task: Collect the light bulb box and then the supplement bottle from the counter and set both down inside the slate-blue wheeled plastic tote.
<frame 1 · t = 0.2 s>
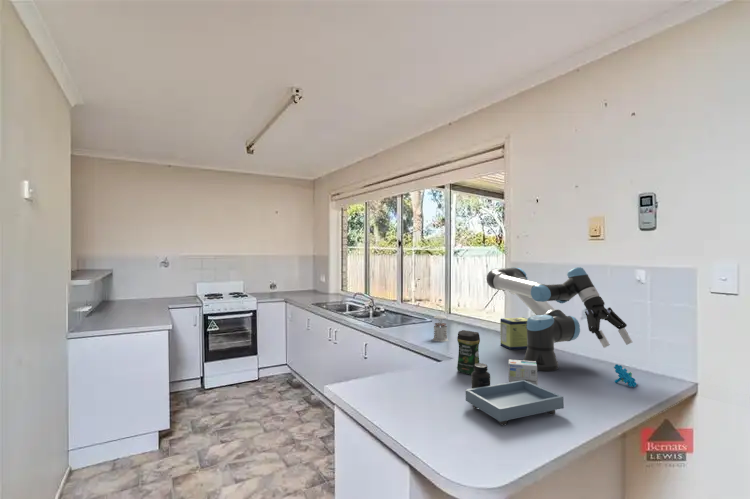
hand: (618, 345, 160), 15 cm above the counter, tool tilted 35°, fingers open, 13 cm apart
gear: (625, 385, 157), on the counter
supplement bottle: (480, 397, 145), on the counter
coffee jar: (468, 372, 174), on the counter
french press: (440, 339, 238), on the counter
light bulb box: (522, 389, 153), on the counter
protein box: (517, 347, 218), on the counter
tote: (513, 411, 132), on the counter
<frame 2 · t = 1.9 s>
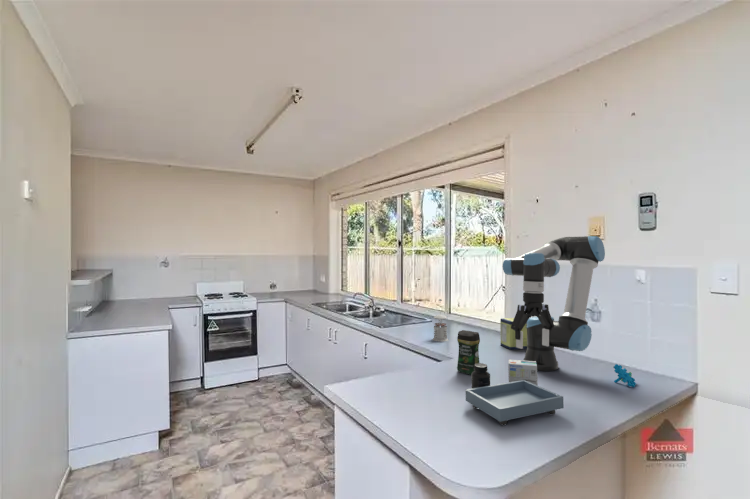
hand: (532, 346, 151), 17 cm above the counter, tool pointing down, fingers open, 13 cm apart
nothing on the counter moved.
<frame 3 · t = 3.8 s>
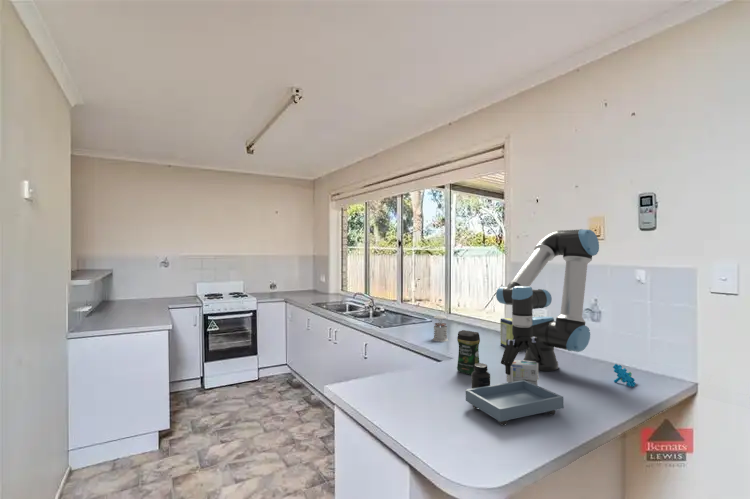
hand: (522, 380, 152), 3 cm above the counter, tool pointing down, fingers closed on light bulb box, 12 cm apart
light bulb box: (522, 389, 152), on the counter, touching gripper
everything else where it was.
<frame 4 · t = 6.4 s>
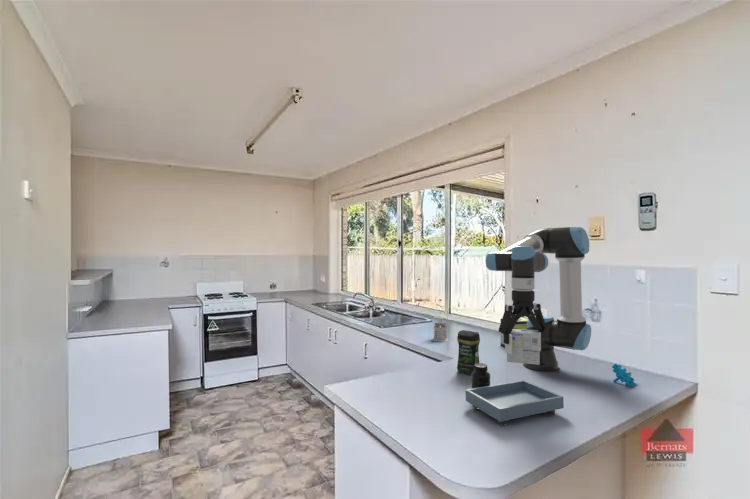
hand: (523, 351, 136), 19 cm above the counter, tool pointing down, fingers closed on light bulb box, 12 cm apart
light bulb box: (523, 361, 136), point 16 cm above the counter, touching gripper
when the fingers open (8 cm above the counter, at t = 9.1 s): light bulb box drops 2 cm, resting on tote.
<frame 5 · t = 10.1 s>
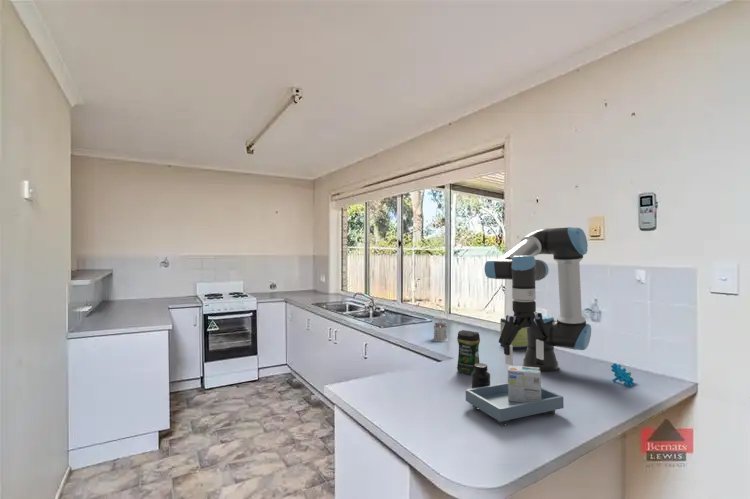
hand: (524, 361, 134), 16 cm above the counter, tool pointing down, fingers open, 13 cm apart
light bulb box: (524, 400, 134), point 3 cm above the counter, touching tote
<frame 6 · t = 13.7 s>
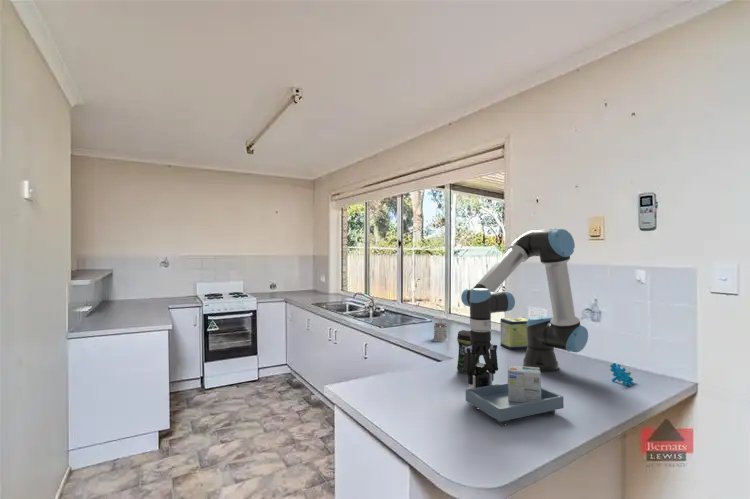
hand: (480, 391, 145), 2 cm above the counter, tool pointing down, fingers closed on supplement bottle, 7 cm apart
supplement bottle: (480, 397, 145), on the counter, touching gripper
when the fingers open (6 cm above the counter, at t = 18.7 s): supplement bottle drops 1 cm, resting on tote.
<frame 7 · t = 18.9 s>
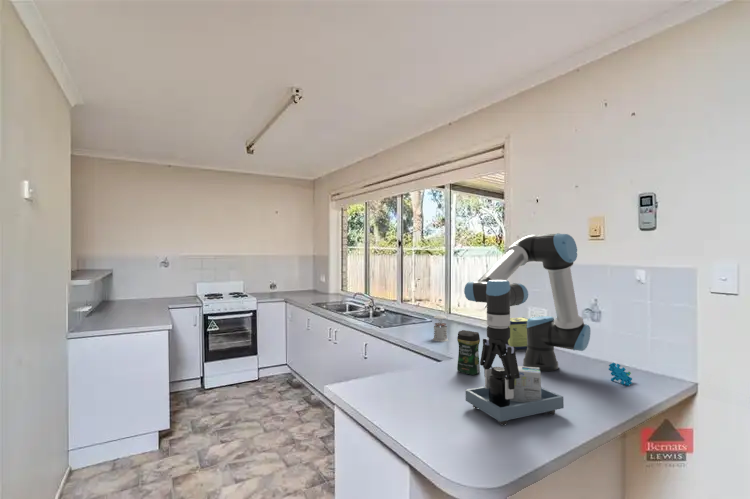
hand: (498, 393, 130), 7 cm above the counter, tool pointing down, fingers open, 9 cm apart
supplement bottle: (499, 405, 130), point 3 cm above the counter, touching tote
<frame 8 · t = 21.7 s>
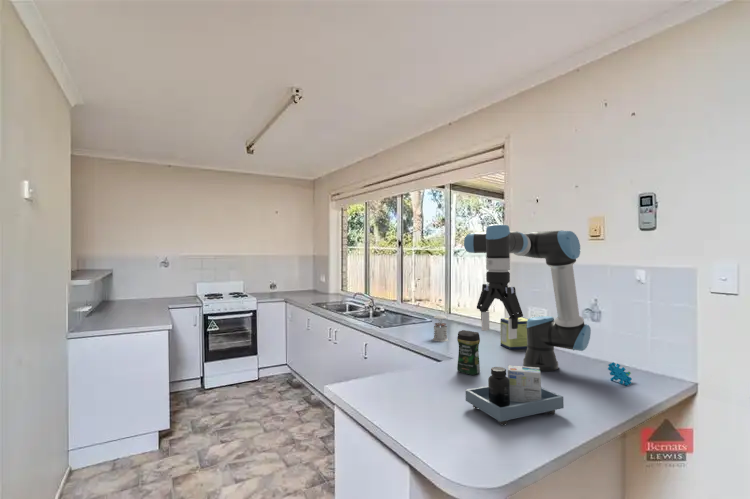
hand: (498, 334, 130), 27 cm above the counter, tool pointing down, fingers open, 13 cm apart
at the end: light bulb box inside the target area on the tote (4.9 cm from its centre), point 3.0 cm above the tote's base; supplement bottle inside the target area on the tote (5.9 cm from its centre), point 3.0 cm above the tote's base; supplement bottle tilted 0° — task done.
